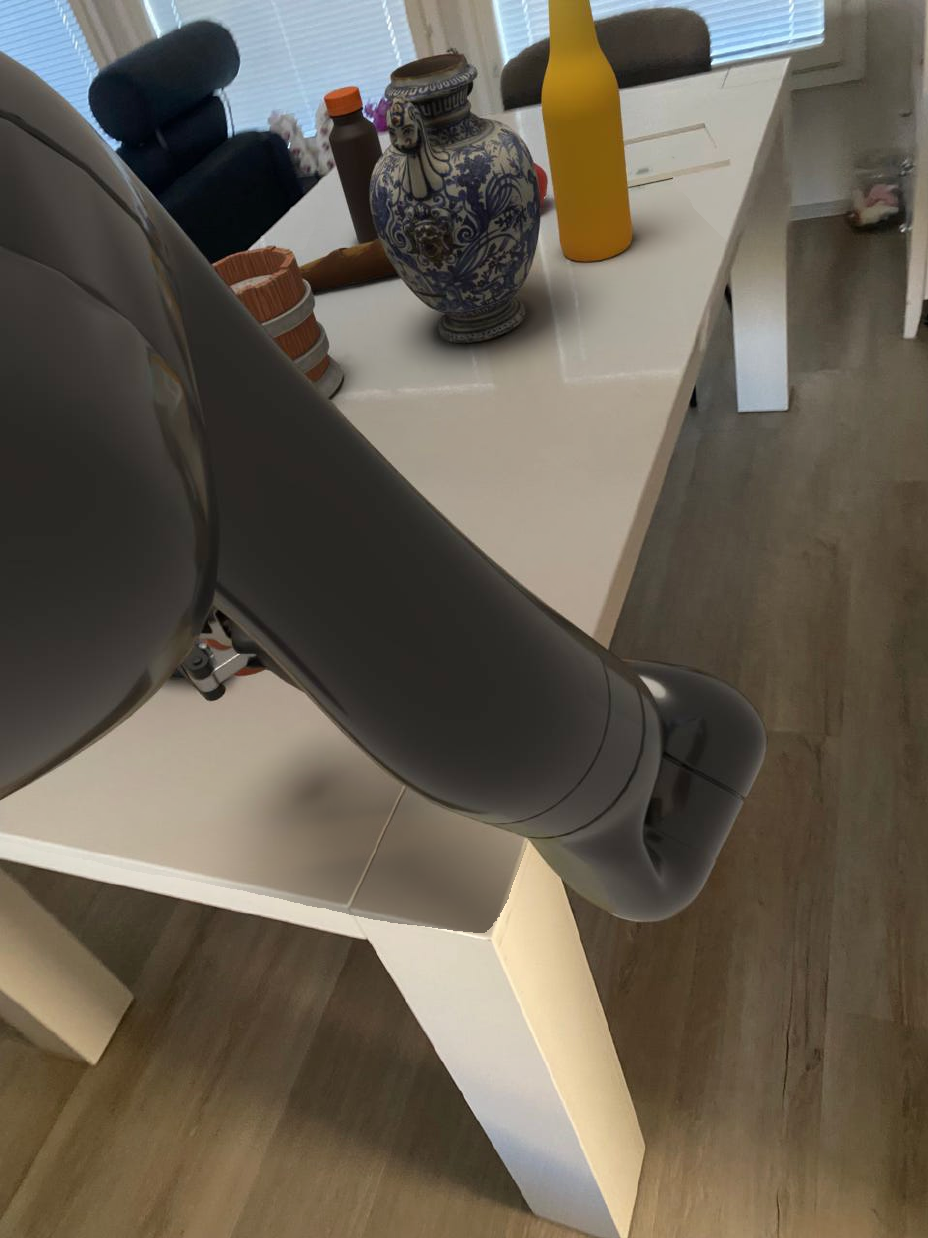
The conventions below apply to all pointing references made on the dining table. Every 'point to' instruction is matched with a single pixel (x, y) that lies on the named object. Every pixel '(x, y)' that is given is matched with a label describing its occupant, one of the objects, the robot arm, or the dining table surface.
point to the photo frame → (678, 172)
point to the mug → (283, 309)
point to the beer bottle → (584, 138)
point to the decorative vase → (455, 200)
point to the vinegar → (354, 156)
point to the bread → (348, 266)
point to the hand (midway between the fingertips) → (192, 557)
